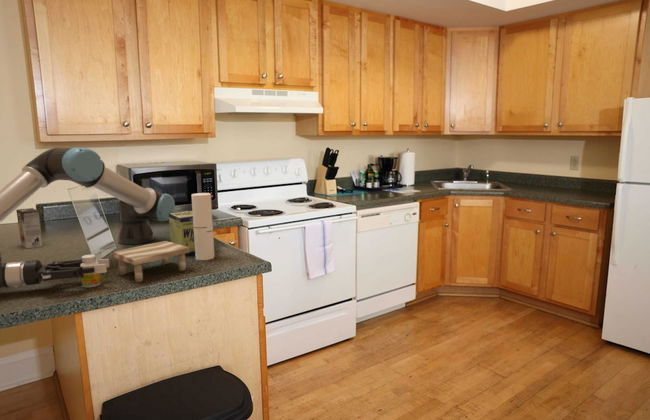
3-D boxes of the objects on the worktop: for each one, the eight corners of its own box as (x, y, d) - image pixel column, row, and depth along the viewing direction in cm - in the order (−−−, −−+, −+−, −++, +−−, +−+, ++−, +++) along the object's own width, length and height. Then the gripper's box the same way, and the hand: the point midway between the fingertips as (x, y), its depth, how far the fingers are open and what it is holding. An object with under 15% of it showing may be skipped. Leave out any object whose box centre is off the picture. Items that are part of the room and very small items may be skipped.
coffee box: (20, 245, 200) (15, 209, 198) (37, 242, 205) (32, 207, 202) (26, 248, 194) (21, 211, 192) (43, 245, 199) (38, 209, 196)
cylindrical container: (194, 256, 178) (190, 193, 174) (212, 254, 181) (209, 192, 177) (197, 261, 172) (192, 196, 168) (216, 258, 175) (212, 194, 170)
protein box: (183, 256, 178) (180, 218, 176) (170, 248, 191) (167, 212, 188) (208, 252, 184) (206, 214, 182) (194, 245, 197) (192, 209, 194)
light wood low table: (114, 273, 158) (112, 251, 156) (167, 261, 172) (166, 240, 171) (136, 283, 147) (134, 259, 146) (190, 269, 162) (189, 247, 161)
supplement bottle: (79, 288, 144) (76, 258, 142) (85, 282, 149) (82, 254, 147) (97, 287, 144) (94, 257, 143) (103, 281, 150) (100, 253, 148)
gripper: (35, 276, 149) (112, 268, 156) (17, 294, 132) (104, 285, 139) (32, 254, 148) (110, 247, 155) (13, 270, 131) (102, 261, 138)
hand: (107, 265), depth 147 cm, fingers closed on supplement bottle, 5 cm apart
